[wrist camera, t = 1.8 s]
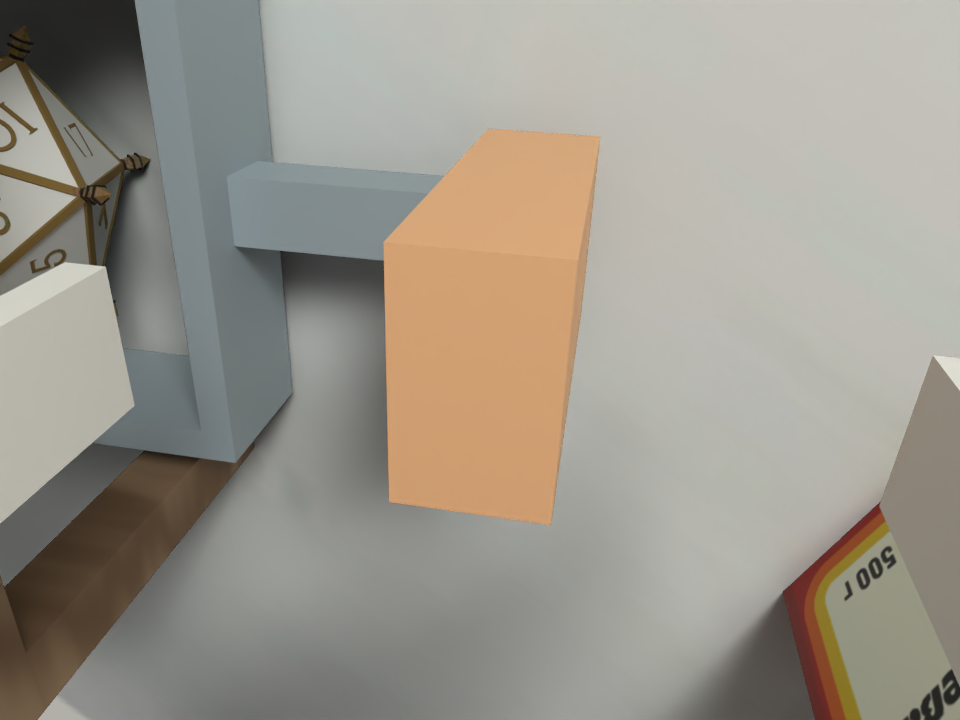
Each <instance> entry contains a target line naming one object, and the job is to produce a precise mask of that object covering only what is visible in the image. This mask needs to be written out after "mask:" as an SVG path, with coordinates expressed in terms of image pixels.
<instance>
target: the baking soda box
mask: <svg viewBox="0 0 960 720" xmlns="http://www.w3.org/2000/svg"><path fill="white" fill-rule="evenodd" d="M880 503H881V502H880ZM880 503H879V504H878V505H877V506H876V507H875V508H873V509H872V510H871V511H870V512H869V513H868V514H867V515H866V516H865V517H864V518H863V519H862V520H860V521H859V522H858V523H857V524H856V525H855V526H854V527H853V528H852V529H851V530H850V531H848V532H847V533H846V534H845V535H844V536H843V537H842V538H841V539H840V540H839V541H838V542H837V543H835V544H834V545H833V546H832V547H831V548H830V549H829V550H828V551H827V552H826V553H825V554H824V555H822V556H821V557H820V558H819V559H818V560H817V561H816V562H815V563H814V564H813V565H812V566H811V567H809V568H808V569H807V570H806V571H805V572H804V573H803V574H802V575H801V576H800V577H799V578H797V579H796V580H795V581H794V582H793V583H792V584H791V585H790V586H789V587H788V588H787V589H786V590H784V591H783V594H784V597H785V601H786V605H787V609H788V613H789V617H790V621H791V625H792V629H793V633H794V637H795V641H796V645H797V649H798V653H799V657H800V661H801V665H802V669H803V673H804V677H805V681H806V685H807V689H808V693H809V697H810V701H811V705H812V709H813V713H814V717H815V720H960V686H959V684H958V682H957V679H956V677H955V675H954V673H953V670H952V668H951V666H950V664H949V662H948V659H947V657H946V655H945V653H944V650H943V648H942V646H941V644H940V641H939V639H938V637H937V635H936V632H935V630H934V628H933V626H932V623H931V621H930V619H929V617H928V614H927V612H926V610H925V608H924V606H923V603H922V601H921V599H920V597H919V594H918V592H917V590H916V588H915V585H914V583H913V581H912V579H911V576H910V574H909V572H908V570H907V567H906V565H905V563H904V561H903V558H902V556H901V554H900V552H899V550H898V547H897V545H896V543H895V541H894V538H893V536H892V534H891V532H890V529H889V527H888V525H887V523H886V520H885V518H884V516H883V514H882V511H881V509H880V507H879V506H880Z"/></svg>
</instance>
